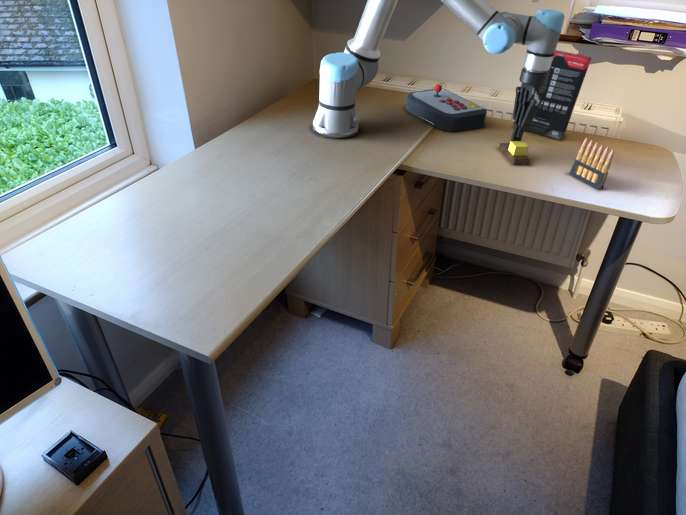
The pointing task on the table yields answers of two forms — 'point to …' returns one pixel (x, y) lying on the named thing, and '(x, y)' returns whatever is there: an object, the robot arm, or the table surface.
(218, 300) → the table surface
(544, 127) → the graphics card box
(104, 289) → the table surface
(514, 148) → the yellow block
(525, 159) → the walnut strip
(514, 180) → the table surface
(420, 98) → the arcade joystick
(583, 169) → the ammunition clip
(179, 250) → the table surface
